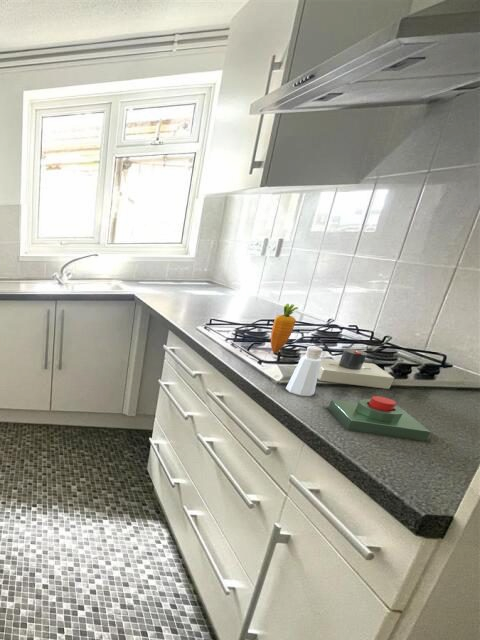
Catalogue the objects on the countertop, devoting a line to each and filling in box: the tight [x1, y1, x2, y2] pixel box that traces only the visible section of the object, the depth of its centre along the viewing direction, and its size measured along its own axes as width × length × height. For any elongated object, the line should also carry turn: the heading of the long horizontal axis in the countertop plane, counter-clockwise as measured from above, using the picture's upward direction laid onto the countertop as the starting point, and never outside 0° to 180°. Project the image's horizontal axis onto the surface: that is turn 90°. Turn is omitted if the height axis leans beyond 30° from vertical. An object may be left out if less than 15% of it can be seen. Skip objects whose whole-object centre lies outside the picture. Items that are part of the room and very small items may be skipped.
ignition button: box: [369, 395, 397, 411], centre depth 83 cm, size 4×4×2 cm
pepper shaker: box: [285, 345, 323, 397], centre depth 96 cm, size 5×5×11 cm
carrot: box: [270, 303, 299, 354], centre depth 120 cm, size 5×5×15 cm
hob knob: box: [339, 348, 368, 370], centre depth 105 cm, size 4×4×4 cm
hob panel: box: [317, 357, 395, 390], centre depth 106 cm, size 14×10×3 cm
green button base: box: [327, 398, 431, 442], centre depth 84 cm, size 12×10×4 cm
